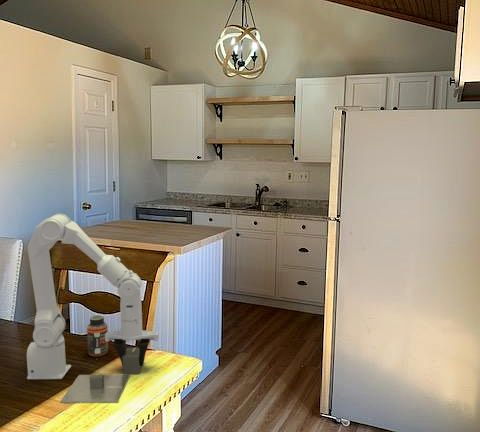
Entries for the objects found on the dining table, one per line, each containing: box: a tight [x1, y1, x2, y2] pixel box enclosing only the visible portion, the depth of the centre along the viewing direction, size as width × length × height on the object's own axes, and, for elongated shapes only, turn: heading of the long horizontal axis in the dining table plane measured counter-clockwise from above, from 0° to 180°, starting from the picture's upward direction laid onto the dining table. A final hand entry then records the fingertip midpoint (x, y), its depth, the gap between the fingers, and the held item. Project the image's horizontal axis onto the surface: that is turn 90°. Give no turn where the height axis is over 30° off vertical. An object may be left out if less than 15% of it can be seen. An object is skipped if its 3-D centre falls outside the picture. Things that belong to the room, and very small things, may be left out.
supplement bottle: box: [86, 315, 109, 358], centre depth 148 cm, size 6×6×11 cm
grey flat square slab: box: [59, 374, 131, 404], centre depth 127 cm, size 14×14×3 cm
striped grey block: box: [122, 347, 143, 375], centre depth 138 cm, size 6×4×5 cm
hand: (133, 364), depth 138 cm, fingers closed on striped grey block, 4 cm apart
